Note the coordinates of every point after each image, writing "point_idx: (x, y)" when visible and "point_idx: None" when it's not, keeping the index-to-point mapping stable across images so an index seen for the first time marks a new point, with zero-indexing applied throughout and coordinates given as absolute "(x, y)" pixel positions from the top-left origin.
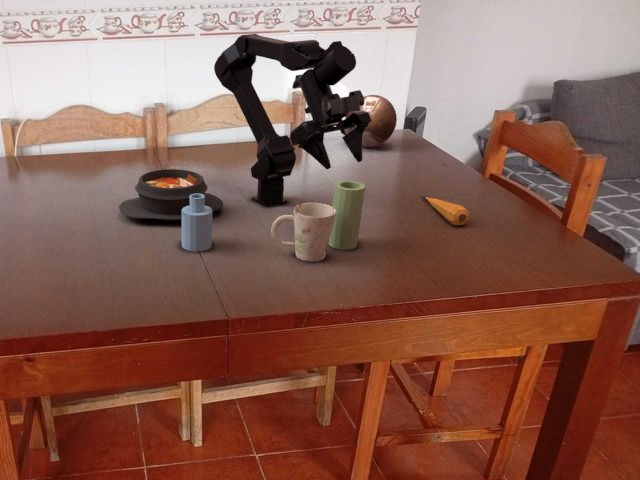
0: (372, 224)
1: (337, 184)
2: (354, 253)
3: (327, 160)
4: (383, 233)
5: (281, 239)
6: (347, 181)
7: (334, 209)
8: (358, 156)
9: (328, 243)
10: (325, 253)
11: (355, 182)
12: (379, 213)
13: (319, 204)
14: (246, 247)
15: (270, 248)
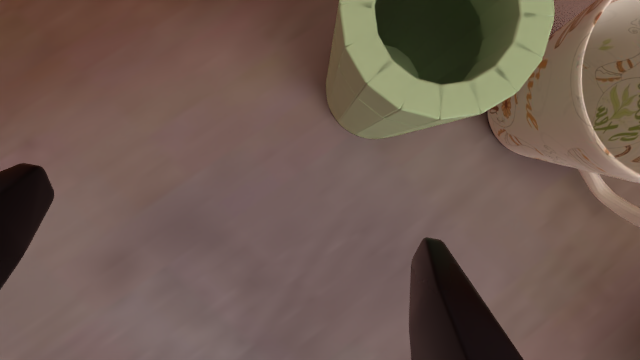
0: (137, 122)
1: (500, 85)
2: None
3: (467, 287)
4: (183, 44)
5: (616, 199)
6: (392, 73)
7: (607, 4)
8: (15, 207)
9: None
10: None
11: (367, 18)
12: None
13: (587, 117)
14: (619, 300)
15: (571, 240)
